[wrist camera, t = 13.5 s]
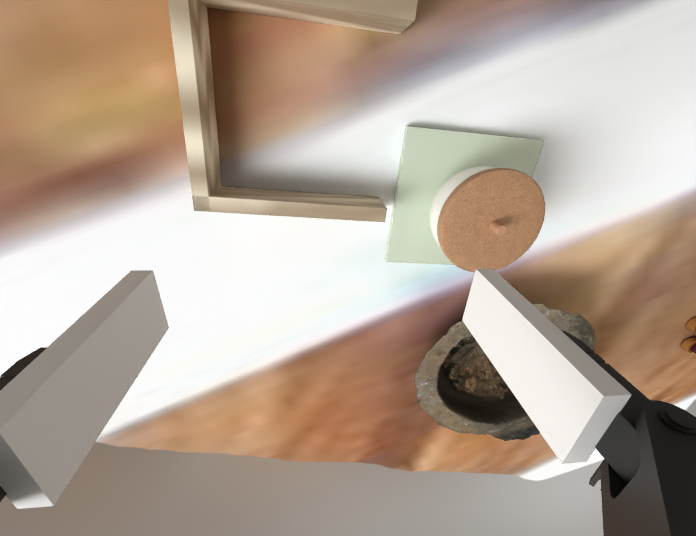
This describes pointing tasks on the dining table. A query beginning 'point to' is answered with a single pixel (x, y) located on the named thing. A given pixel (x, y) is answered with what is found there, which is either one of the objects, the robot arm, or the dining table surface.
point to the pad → (432, 171)
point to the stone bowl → (480, 382)
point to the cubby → (200, 113)
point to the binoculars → (691, 343)
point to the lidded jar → (486, 217)
